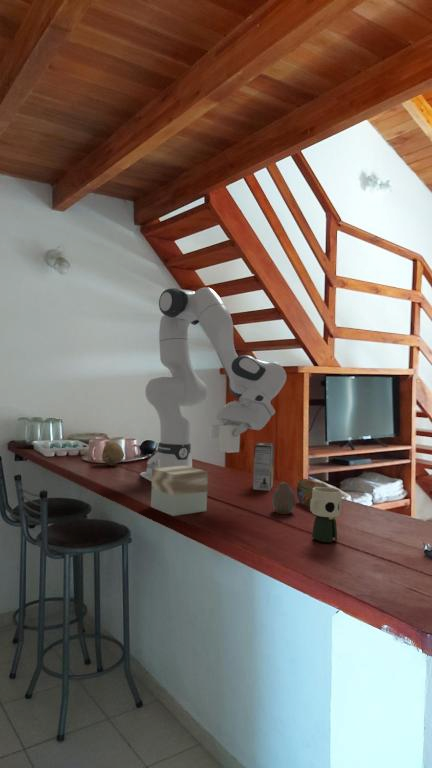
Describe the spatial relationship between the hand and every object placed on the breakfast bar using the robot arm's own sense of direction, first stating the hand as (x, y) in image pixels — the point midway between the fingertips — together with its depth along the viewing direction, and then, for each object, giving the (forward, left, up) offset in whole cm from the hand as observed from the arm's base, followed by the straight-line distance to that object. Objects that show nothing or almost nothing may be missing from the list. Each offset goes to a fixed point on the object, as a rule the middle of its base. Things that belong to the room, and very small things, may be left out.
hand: (227, 434), depth 174 cm
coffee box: (-14, +29, -22) cm, 39 cm away
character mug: (+42, -1, -22) cm, 48 cm away
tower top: (-3, -16, -16) cm, 23 cm away
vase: (+16, +10, -22) cm, 29 cm away
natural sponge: (-78, +1, -22) cm, 81 cm away
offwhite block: (0, +1, -5) cm, 5 cm away
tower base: (-2, -16, -23) cm, 28 cm away
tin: (+15, +24, -22) cm, 36 cm away
